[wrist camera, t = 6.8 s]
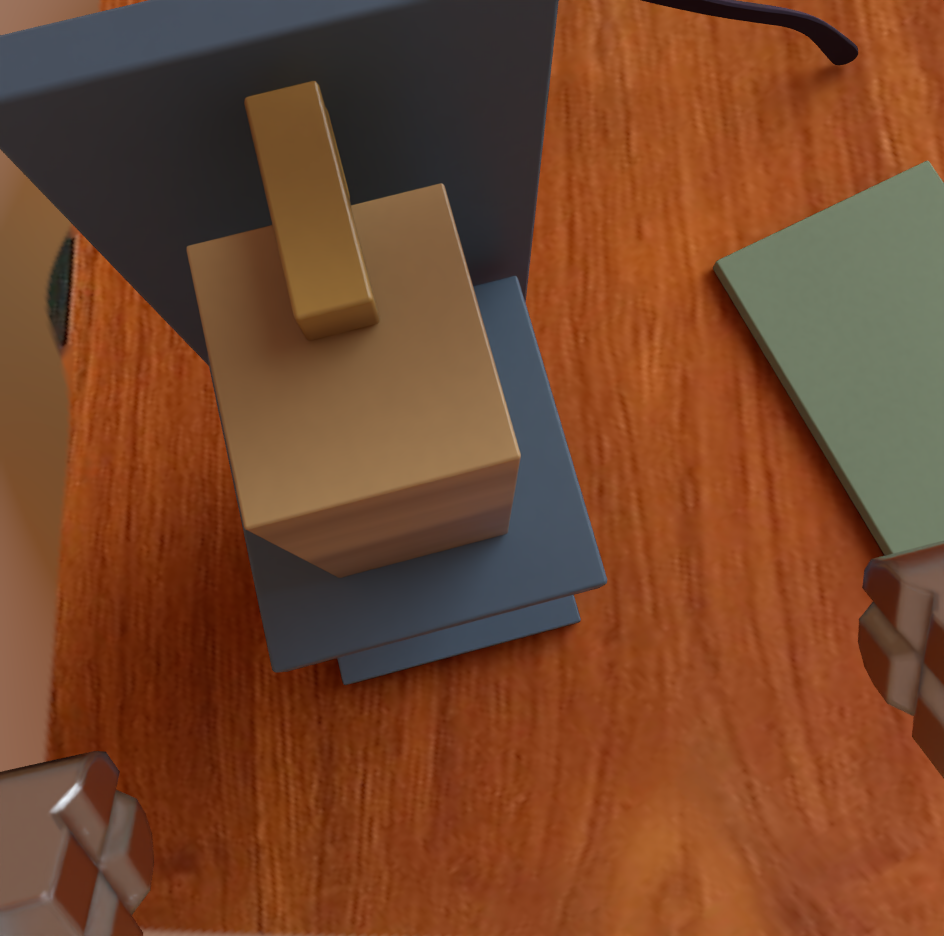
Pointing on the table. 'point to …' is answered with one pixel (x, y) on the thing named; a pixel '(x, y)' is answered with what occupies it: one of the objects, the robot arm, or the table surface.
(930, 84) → the table surface
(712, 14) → the sunglasses
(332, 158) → the tan block with peg
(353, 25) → the bracket
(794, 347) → the mat
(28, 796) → the robot arm
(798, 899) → the table surface
